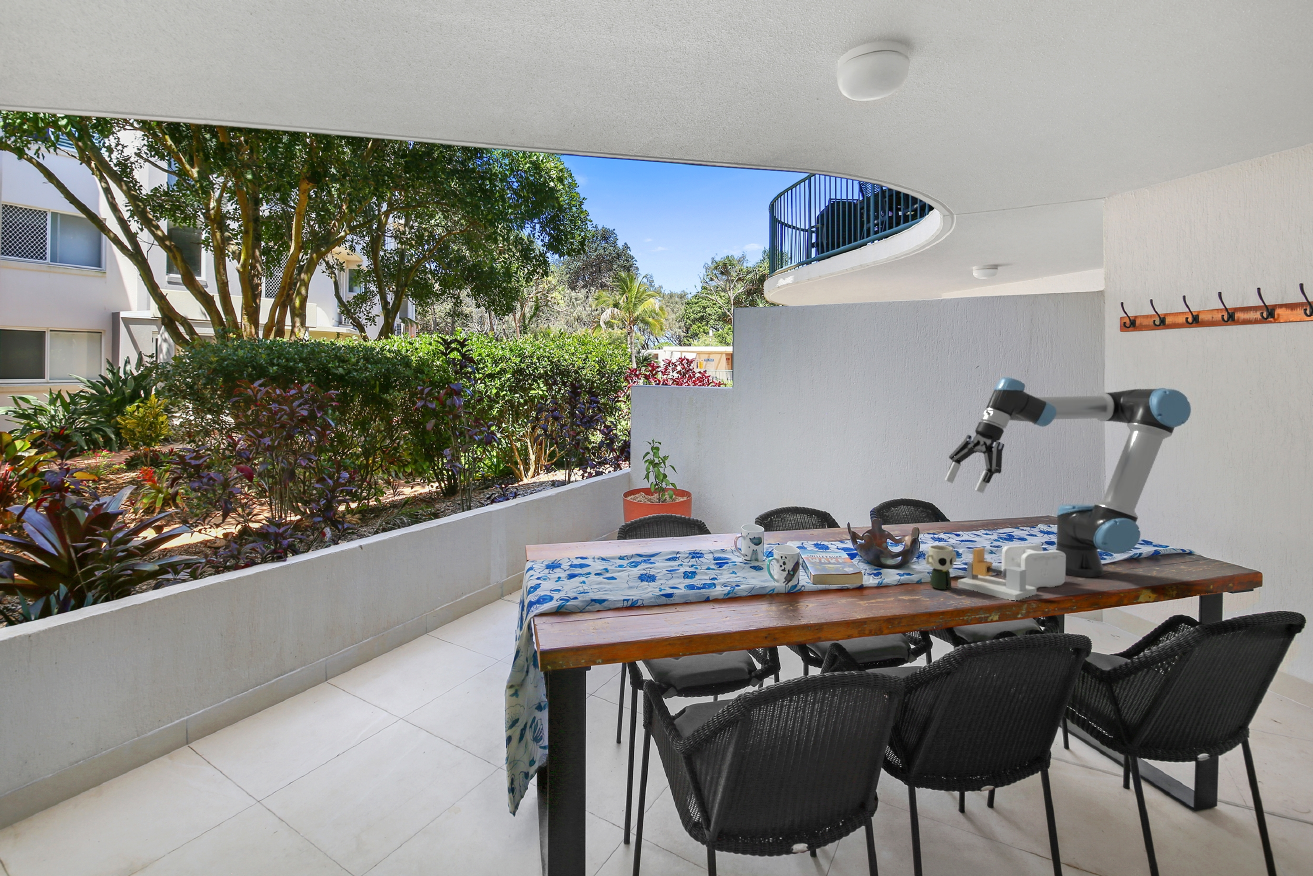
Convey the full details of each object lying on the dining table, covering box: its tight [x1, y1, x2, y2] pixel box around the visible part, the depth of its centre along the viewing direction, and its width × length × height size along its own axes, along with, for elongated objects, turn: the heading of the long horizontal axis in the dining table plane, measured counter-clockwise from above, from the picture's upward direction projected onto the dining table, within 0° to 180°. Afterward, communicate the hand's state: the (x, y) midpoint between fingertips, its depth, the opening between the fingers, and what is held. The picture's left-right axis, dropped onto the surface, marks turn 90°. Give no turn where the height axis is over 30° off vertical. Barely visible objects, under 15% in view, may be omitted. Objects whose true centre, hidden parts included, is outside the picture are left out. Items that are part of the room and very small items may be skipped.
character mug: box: [925, 544, 957, 590], centre depth 197 cm, size 11×7×13 cm, turn 103°
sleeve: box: [972, 546, 993, 577], centre depth 198 cm, size 4×4×8 cm
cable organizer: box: [1001, 543, 1066, 589], centre depth 200 cm, size 15×11×12 cm
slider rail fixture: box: [957, 560, 1037, 602], centre depth 194 cm, size 12×18×8 cm, turn 32°
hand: (963, 486), depth 197 cm, fingers open, 13 cm apart
